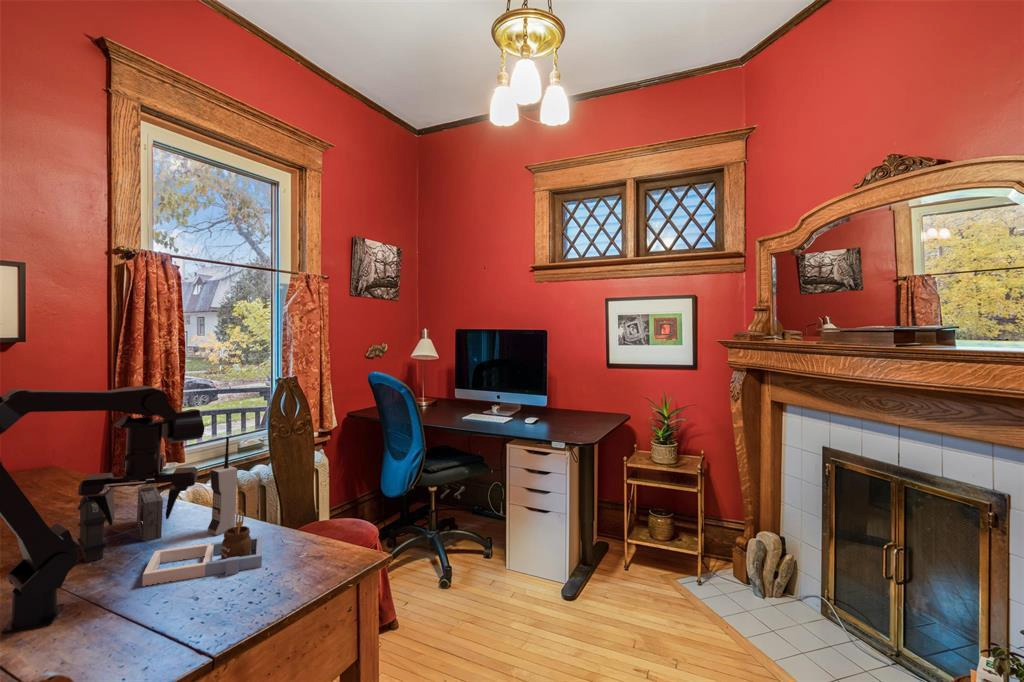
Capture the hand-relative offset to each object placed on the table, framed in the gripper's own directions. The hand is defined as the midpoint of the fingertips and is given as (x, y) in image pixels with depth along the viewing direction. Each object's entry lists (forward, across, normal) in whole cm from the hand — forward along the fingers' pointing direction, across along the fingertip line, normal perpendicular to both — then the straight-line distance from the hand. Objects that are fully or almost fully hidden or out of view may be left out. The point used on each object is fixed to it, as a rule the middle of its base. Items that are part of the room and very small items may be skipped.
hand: (140, 521), depth 96 cm
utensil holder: (+13, -17, -4) cm, 22 cm away
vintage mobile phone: (+13, -13, -23) cm, 29 cm away
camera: (+13, +4, -31) cm, 34 cm away
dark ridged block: (+13, +13, -21) cm, 28 cm away
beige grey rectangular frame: (+13, -12, -4) cm, 18 cm away
